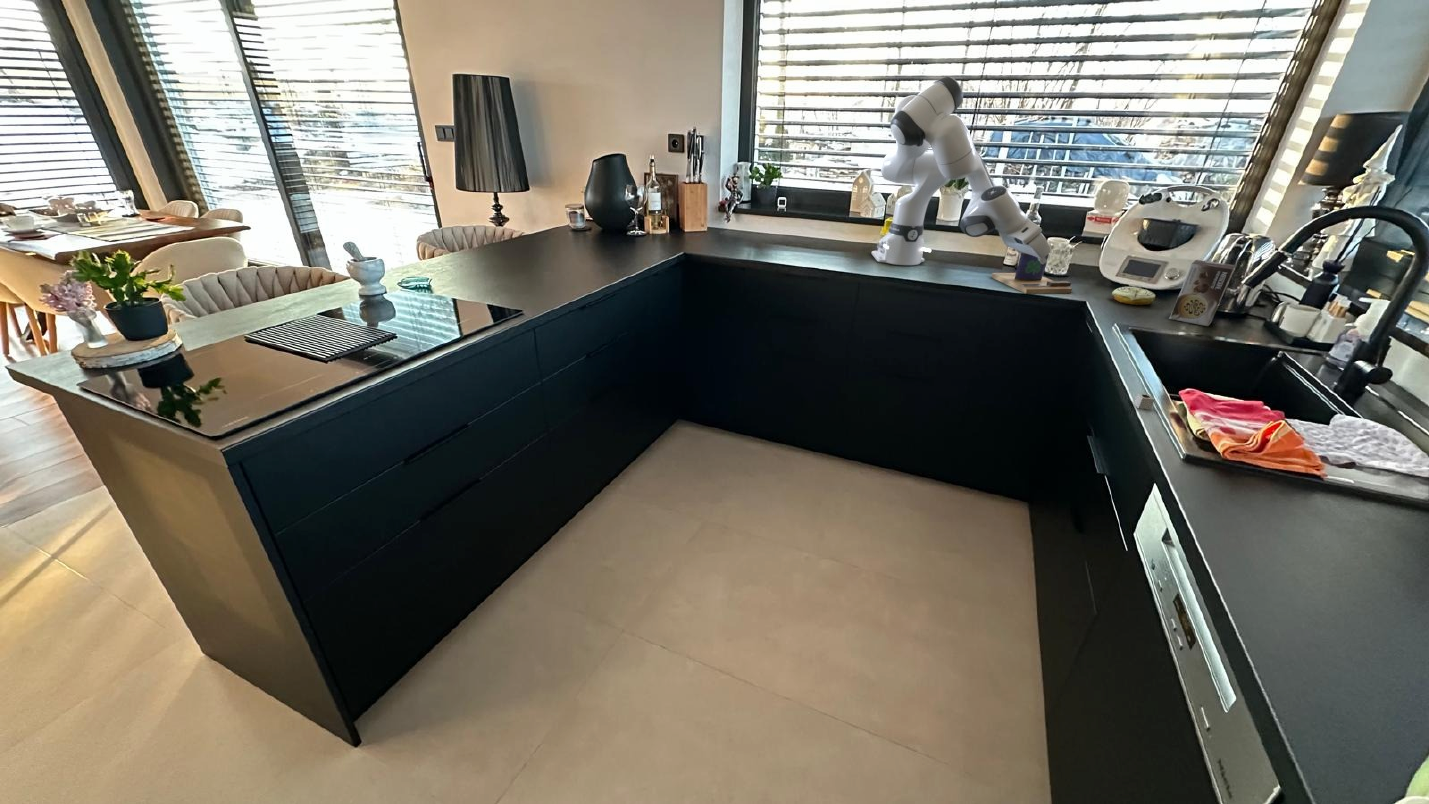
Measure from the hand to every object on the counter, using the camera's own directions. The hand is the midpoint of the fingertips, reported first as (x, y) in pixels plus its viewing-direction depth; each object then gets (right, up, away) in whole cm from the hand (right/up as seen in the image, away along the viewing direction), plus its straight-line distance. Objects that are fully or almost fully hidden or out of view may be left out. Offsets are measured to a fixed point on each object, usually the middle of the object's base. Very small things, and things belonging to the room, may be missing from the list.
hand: (1034, 259), depth 186 cm
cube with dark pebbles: (-23, -49, -77) cm, 94 cm away
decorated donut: (+23, -17, -12) cm, 31 cm away
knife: (+1, -10, -4) cm, 10 cm away
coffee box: (+28, -25, -28) cm, 47 cm away
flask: (-1, -6, +3) cm, 7 cm away
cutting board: (0, -8, +3) cm, 9 cm away
